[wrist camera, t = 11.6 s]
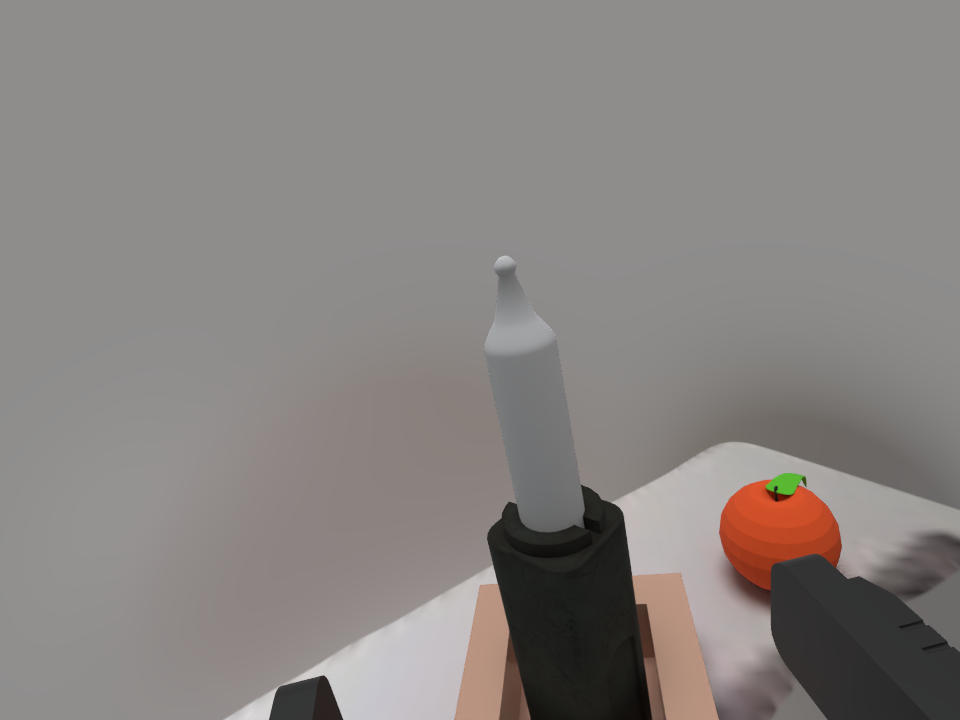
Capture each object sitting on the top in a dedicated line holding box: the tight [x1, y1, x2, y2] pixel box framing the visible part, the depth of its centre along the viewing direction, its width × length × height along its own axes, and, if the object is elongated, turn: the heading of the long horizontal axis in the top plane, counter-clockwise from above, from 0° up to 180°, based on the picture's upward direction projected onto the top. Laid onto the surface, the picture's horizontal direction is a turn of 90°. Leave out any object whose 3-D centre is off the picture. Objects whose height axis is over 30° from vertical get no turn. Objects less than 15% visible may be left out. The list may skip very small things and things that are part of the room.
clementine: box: [719, 473, 842, 591], centre depth 37 cm, size 8×7×7 cm
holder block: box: [454, 573, 719, 720], centre depth 30 cm, size 12×12×5 cm
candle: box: [484, 256, 652, 720], centre depth 26 cm, size 5×5×25 cm
